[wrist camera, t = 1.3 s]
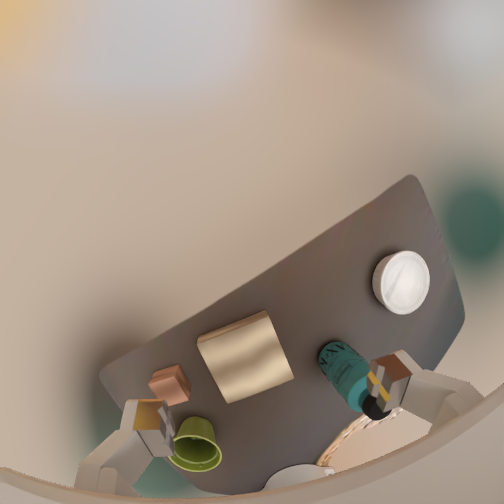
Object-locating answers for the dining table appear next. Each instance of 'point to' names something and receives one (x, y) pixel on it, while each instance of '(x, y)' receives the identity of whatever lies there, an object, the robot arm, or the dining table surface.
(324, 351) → the beverage bottle
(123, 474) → the robot arm
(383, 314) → the dining table surface
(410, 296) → the ramekin
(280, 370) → the birch base
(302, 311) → the dining table surface
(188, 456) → the plant pot
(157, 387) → the terracotta cube
